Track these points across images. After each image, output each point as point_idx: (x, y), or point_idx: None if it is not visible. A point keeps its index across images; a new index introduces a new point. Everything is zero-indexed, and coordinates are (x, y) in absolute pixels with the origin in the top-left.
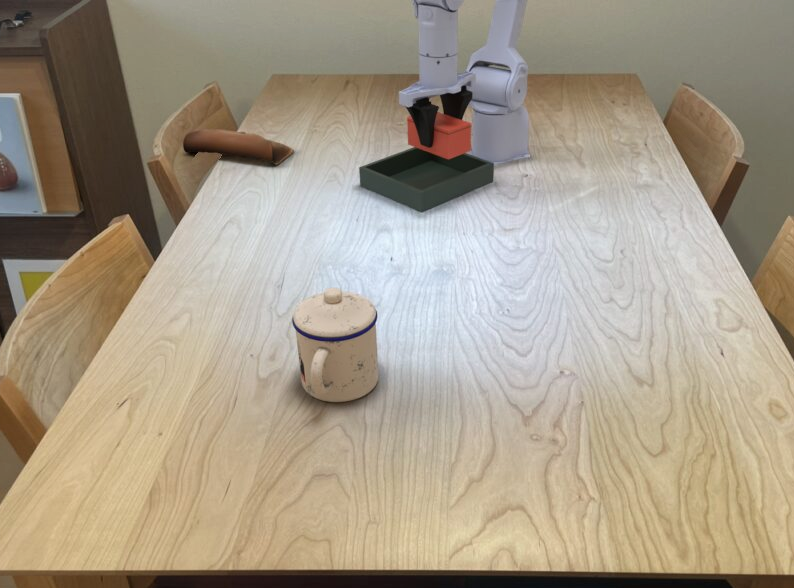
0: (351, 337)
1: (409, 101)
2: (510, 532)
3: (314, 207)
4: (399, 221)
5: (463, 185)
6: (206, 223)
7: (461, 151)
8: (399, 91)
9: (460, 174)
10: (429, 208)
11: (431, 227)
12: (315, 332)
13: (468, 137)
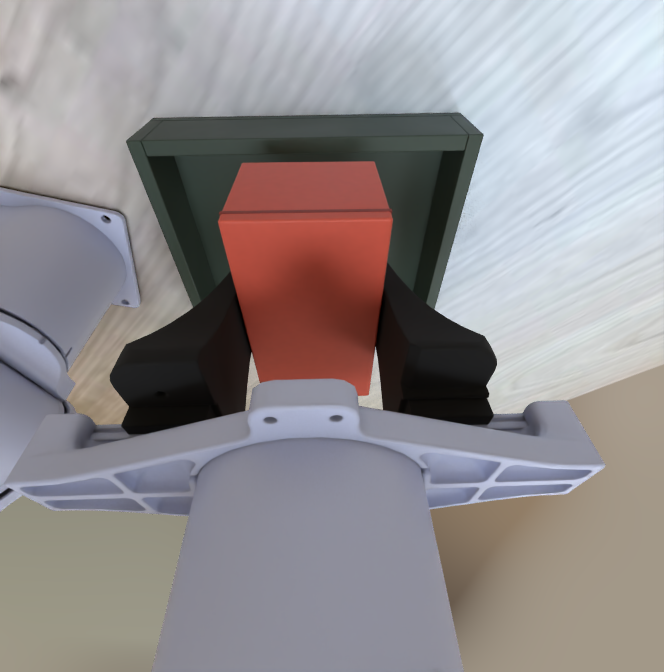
0: None
1: (575, 426)
2: None
3: (529, 306)
4: (523, 132)
5: (286, 126)
6: (645, 356)
7: (296, 167)
8: (562, 493)
9: (211, 225)
10: (433, 116)
11: (524, 10)
12: None
13: (248, 187)
